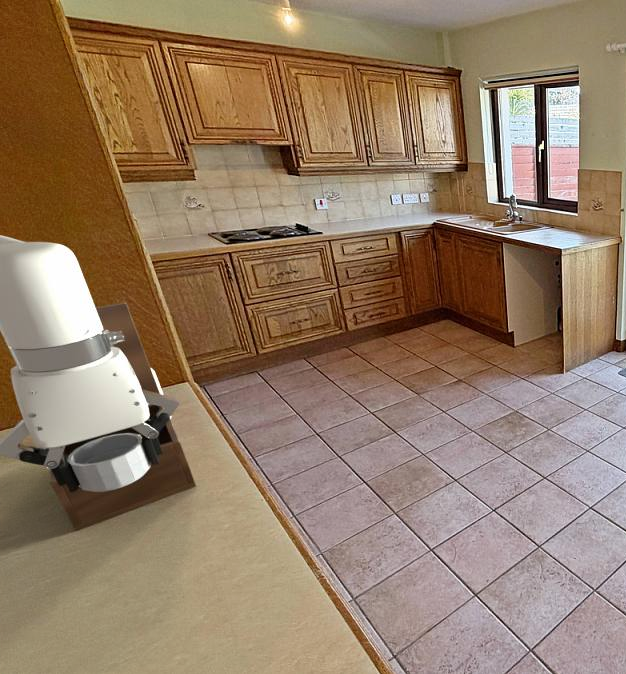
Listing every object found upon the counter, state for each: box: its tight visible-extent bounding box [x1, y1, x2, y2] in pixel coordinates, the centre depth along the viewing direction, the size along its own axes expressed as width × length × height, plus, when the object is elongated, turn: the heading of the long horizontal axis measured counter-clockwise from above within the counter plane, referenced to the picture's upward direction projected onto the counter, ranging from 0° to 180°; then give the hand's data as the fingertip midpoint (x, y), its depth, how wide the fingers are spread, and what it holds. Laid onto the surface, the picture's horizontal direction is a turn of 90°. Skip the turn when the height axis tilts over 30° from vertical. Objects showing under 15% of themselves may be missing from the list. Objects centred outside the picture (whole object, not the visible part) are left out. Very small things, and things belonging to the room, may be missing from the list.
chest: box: [49, 404, 197, 532], centre depth 75 cm, size 17×14×9 cm
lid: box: [0, 302, 160, 394], centre depth 77 cm, size 18×14×5 cm
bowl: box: [67, 433, 151, 492], centre depth 61 cm, size 7×7×4 cm
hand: (115, 471), depth 62 cm, fingers closed on bowl, 7 cm apart
